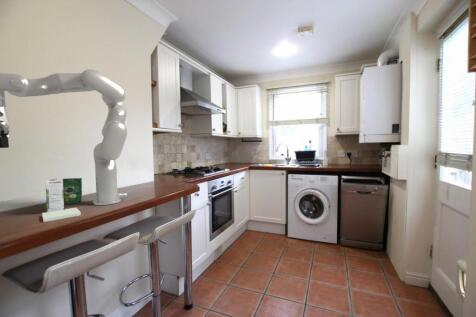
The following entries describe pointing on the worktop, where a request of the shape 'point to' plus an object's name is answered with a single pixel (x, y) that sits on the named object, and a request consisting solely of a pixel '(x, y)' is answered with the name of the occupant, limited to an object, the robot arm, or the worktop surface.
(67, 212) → the sage board
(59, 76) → the robot arm
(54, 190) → the syrup box
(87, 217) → the worktop surface
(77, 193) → the coffee box
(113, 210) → the worktop surface
